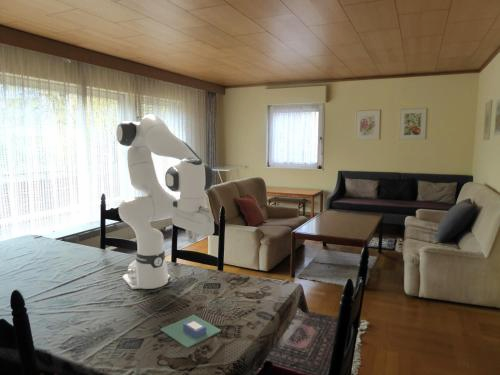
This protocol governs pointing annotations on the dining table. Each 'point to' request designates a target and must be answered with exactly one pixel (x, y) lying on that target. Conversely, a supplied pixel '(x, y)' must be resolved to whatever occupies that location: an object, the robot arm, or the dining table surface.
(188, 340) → the mat
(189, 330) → the block
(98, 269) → the dining table surface
